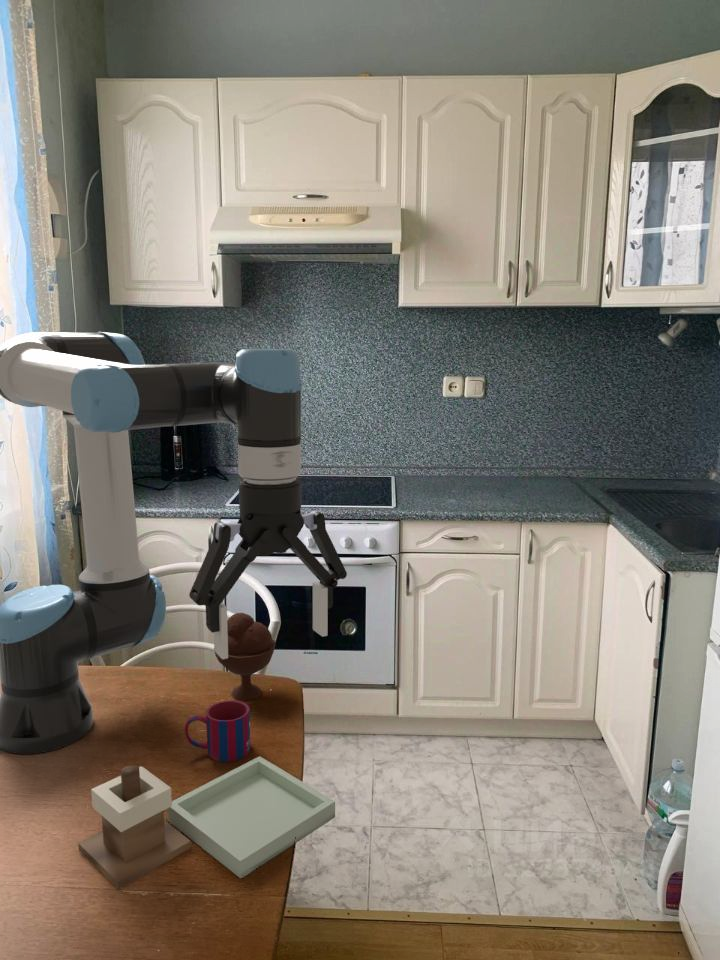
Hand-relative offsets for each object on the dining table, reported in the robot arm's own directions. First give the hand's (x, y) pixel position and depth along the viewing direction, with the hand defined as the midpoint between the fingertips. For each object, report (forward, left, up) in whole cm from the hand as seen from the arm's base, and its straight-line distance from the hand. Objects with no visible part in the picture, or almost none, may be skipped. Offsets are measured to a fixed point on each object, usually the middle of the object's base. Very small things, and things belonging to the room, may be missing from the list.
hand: (272, 643), depth 94 cm
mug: (-21, +6, -26) cm, 34 cm away
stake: (-10, -15, -26) cm, 32 cm away
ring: (-10, -15, -20) cm, 27 cm away
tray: (-4, -1, -26) cm, 26 cm away
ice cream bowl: (-33, +21, -26) cm, 47 cm away
